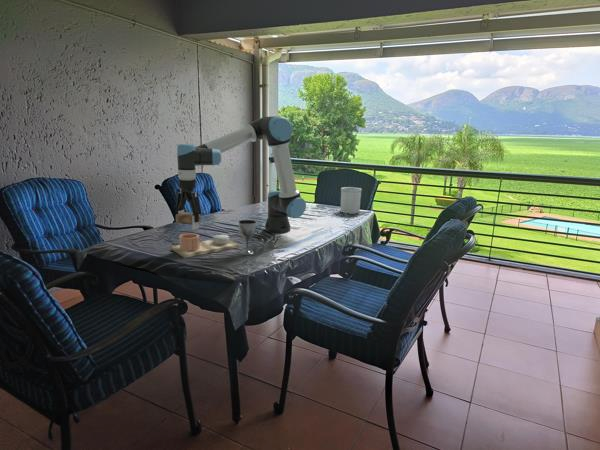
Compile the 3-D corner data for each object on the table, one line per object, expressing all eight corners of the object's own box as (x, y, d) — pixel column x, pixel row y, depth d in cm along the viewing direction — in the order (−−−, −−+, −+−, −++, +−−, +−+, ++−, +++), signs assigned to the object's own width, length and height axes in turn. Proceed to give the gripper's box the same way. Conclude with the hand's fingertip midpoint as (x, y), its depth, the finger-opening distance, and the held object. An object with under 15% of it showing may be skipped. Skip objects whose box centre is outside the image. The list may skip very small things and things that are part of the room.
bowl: (203, 246, 182) (202, 234, 180) (193, 252, 173) (193, 239, 172) (185, 244, 184) (185, 232, 182) (176, 250, 175) (175, 237, 174)
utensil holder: (340, 209, 287) (341, 186, 282) (359, 210, 285) (361, 187, 280) (339, 213, 272) (340, 189, 268) (360, 214, 270) (361, 190, 266)
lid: (204, 219, 179) (204, 213, 179) (193, 224, 169) (193, 218, 168) (183, 217, 181) (183, 211, 181) (171, 222, 171) (170, 216, 170)
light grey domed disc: (231, 241, 192) (231, 235, 191) (225, 245, 184) (225, 239, 183) (217, 239, 193) (216, 234, 193) (210, 244, 186) (209, 238, 185)
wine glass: (239, 249, 184) (239, 219, 180) (256, 249, 184) (256, 219, 181) (238, 255, 176) (238, 223, 172) (255, 255, 177) (255, 223, 173)
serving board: (224, 240, 198) (224, 237, 198) (239, 247, 187) (239, 244, 187) (171, 249, 181) (171, 246, 180) (184, 257, 170) (184, 254, 169)
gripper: (166, 176, 175) (168, 223, 181) (194, 182, 160) (195, 232, 165) (180, 175, 181) (182, 220, 186) (209, 181, 166) (210, 230, 171)
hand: (188, 226), depth 176 cm, fingers closed on lid, 11 cm apart
